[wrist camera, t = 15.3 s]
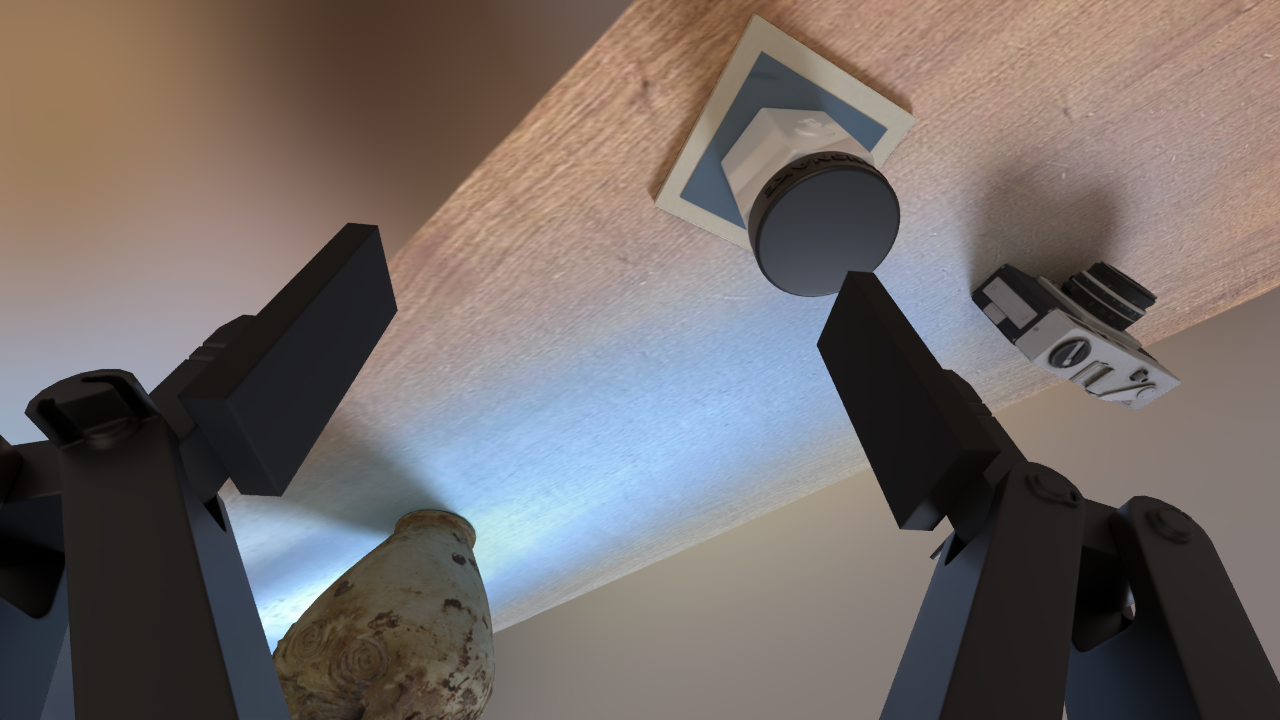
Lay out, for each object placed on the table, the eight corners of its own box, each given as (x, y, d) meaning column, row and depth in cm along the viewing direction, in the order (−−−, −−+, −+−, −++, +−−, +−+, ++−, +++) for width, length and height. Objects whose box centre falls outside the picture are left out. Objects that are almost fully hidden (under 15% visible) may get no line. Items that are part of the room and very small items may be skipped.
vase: (406, 451, 58) (296, 795, 37) (549, 523, 72) (527, 803, 51) (297, 516, 67) (158, 823, 46) (442, 569, 81) (386, 823, 60)
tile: (753, 12, 33) (755, 14, 32) (913, 115, 37) (919, 119, 36) (653, 201, 41) (653, 205, 40) (794, 268, 45) (796, 274, 44)
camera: (1145, 294, 47) (1239, 368, 39) (1046, 355, 52) (1113, 431, 44) (1065, 216, 42) (1155, 283, 34) (964, 292, 47) (1023, 365, 39)
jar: (856, 109, 36) (934, 169, 26) (822, 218, 41) (878, 301, 32) (730, 101, 35) (765, 159, 26) (712, 213, 40) (736, 295, 31)
